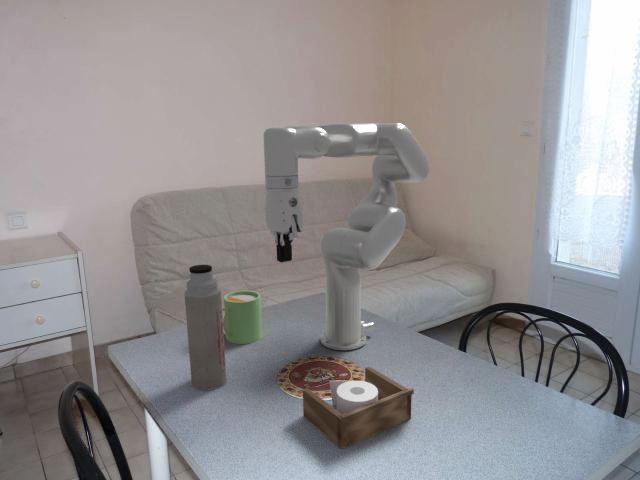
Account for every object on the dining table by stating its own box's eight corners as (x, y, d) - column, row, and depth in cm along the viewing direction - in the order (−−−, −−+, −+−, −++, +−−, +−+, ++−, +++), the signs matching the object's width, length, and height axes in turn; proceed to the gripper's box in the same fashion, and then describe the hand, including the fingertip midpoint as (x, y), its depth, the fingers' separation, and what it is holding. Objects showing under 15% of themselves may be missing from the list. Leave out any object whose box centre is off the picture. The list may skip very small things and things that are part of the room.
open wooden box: (369, 391, 113) (369, 363, 112) (413, 419, 102) (413, 389, 101) (303, 416, 104) (302, 386, 102) (343, 450, 93) (343, 417, 91)
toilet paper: (333, 404, 108) (332, 374, 107) (383, 416, 104) (383, 385, 102) (316, 424, 101) (315, 392, 100) (369, 438, 96) (369, 405, 95)
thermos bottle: (231, 375, 122) (224, 262, 116) (218, 392, 114) (210, 272, 108) (200, 372, 123) (192, 261, 117) (185, 389, 116) (175, 270, 110)
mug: (243, 326, 151) (240, 288, 149) (269, 334, 145) (267, 294, 143) (211, 341, 141) (208, 300, 139) (238, 350, 135) (235, 307, 133)
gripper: (313, 184, 112) (315, 265, 116) (280, 179, 124) (282, 252, 128) (284, 187, 108) (286, 270, 112) (252, 181, 120) (255, 257, 124)
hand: (284, 260), depth 120 cm, fingers closed
